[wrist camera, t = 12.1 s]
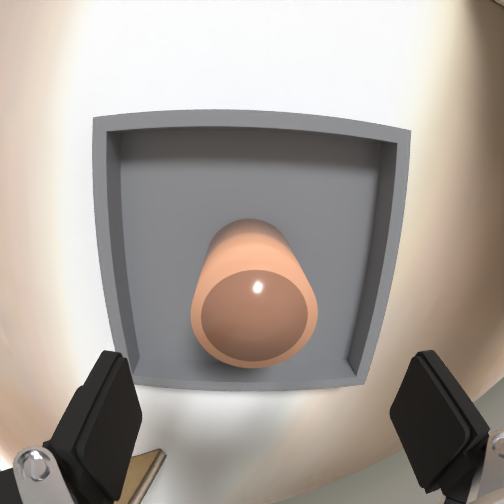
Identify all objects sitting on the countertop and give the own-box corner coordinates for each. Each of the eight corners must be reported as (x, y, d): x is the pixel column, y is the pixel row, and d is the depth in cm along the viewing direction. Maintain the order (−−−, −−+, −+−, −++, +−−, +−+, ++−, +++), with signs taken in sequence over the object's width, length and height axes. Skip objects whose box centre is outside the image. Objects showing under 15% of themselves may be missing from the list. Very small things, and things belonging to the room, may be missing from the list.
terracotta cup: (294, 219, 21) (325, 260, 13) (287, 299, 23) (309, 367, 15) (206, 217, 21) (187, 257, 13) (207, 297, 23) (193, 367, 15)
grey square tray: (387, 131, 20) (410, 130, 17) (352, 360, 26) (364, 384, 23) (113, 121, 19) (93, 117, 16) (134, 358, 25) (123, 382, 22)
